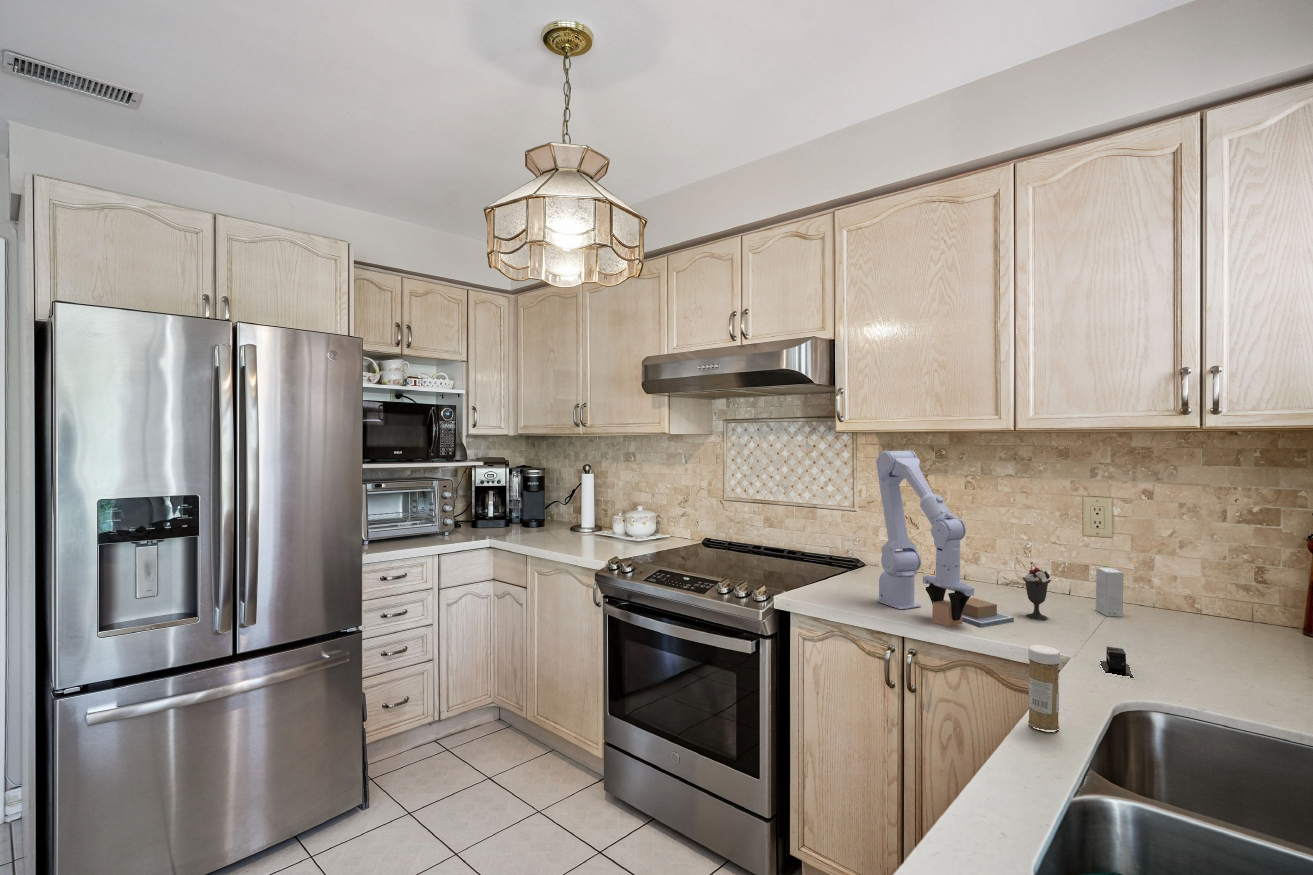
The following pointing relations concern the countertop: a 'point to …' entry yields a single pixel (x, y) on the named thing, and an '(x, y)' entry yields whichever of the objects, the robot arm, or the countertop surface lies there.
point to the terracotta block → (944, 613)
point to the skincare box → (1109, 592)
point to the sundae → (1036, 590)
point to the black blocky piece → (1116, 662)
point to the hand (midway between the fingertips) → (947, 616)
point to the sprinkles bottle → (1043, 687)
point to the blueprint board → (983, 613)
